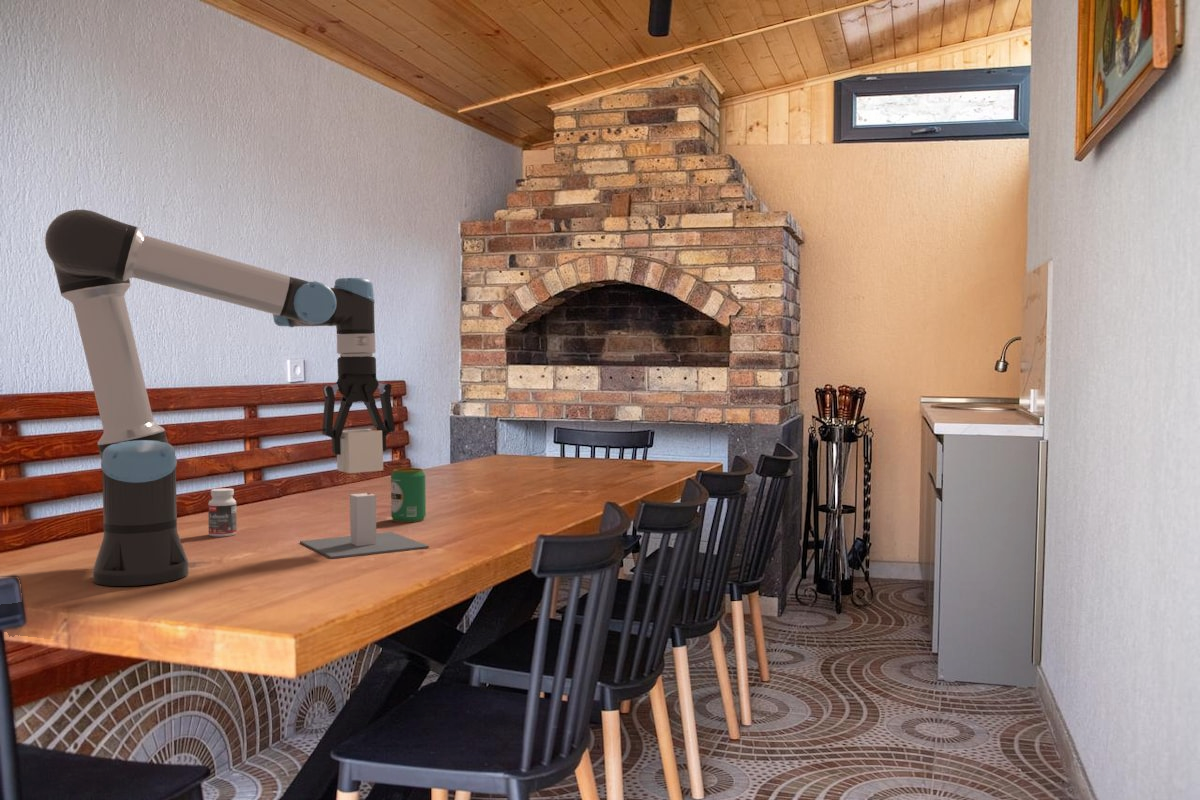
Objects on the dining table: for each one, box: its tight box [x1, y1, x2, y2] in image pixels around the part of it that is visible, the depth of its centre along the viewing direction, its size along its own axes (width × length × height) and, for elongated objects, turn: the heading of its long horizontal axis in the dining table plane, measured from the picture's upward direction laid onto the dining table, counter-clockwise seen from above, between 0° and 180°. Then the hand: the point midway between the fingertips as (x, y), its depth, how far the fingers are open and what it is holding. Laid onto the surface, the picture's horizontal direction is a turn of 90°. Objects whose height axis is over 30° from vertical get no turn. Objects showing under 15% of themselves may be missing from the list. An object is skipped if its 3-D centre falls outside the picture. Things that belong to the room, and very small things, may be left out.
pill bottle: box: [207, 487, 238, 538], centre depth 219 cm, size 6×6×10 cm
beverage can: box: [390, 467, 427, 523], centre depth 239 cm, size 8×8×12 cm
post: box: [299, 492, 430, 559], centre depth 206 cm, size 20×20×11 cm
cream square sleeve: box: [340, 426, 384, 474], centre depth 204 cm, size 7×7×8 cm
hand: (360, 469), depth 204 cm, fingers closed on cream square sleeve, 7 cm apart
